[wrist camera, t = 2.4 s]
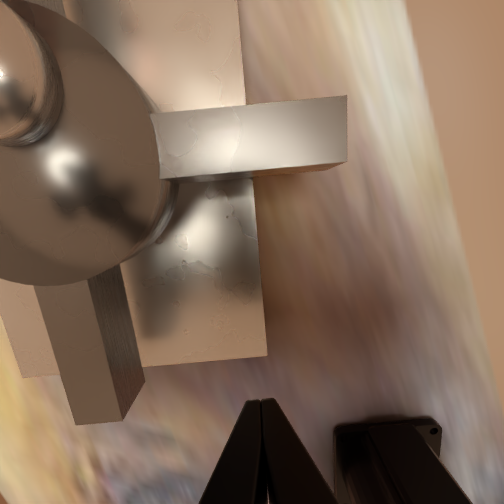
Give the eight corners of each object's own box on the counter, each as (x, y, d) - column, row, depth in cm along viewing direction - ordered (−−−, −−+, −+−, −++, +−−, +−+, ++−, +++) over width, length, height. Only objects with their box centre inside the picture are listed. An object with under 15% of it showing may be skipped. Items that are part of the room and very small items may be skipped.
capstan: (329, 363, 10) (389, 484, 6) (-74, 399, 10) (-314, 546, 6) (316, -198, 6) (460, -1038, 2) (-318, -136, 6) (-1490, -835, 2)
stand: (264, 333, 13) (274, 409, 8) (55, 352, 13) (-56, 439, 8) (212, -271, 8) (161, -950, 3) (-123, -238, 8) (-652, -865, 3)
